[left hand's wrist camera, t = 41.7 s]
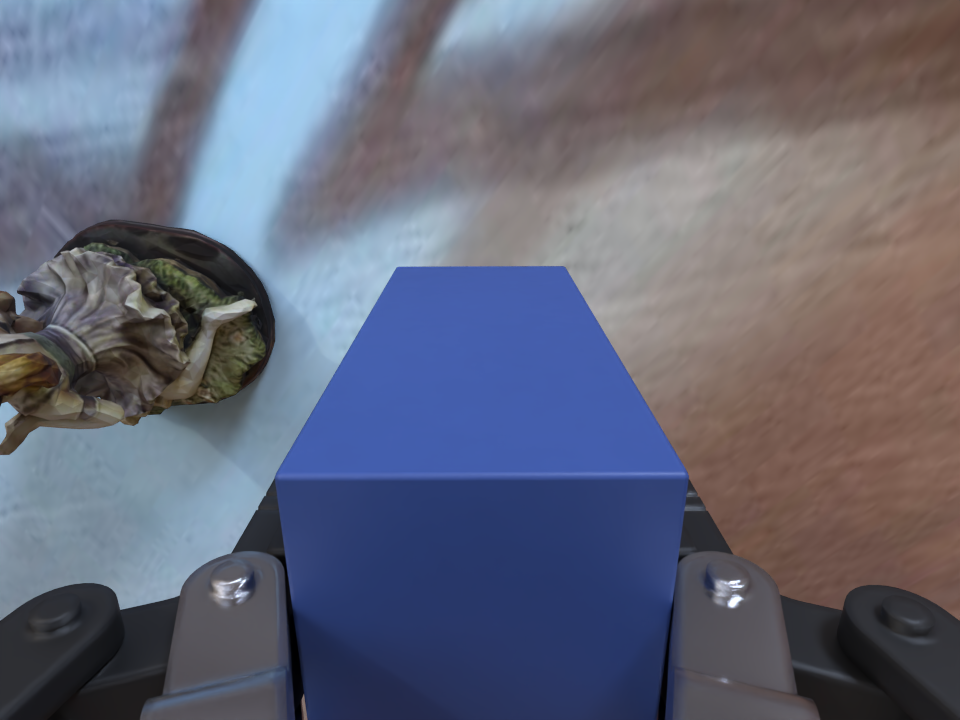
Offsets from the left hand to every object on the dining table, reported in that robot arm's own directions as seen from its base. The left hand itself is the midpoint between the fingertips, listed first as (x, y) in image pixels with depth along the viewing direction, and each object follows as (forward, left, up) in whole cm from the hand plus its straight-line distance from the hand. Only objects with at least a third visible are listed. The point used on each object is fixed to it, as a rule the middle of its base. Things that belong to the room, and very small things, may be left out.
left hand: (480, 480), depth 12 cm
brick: (0, 0, -6) cm, 6 cm away
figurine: (-16, +6, -22) cm, 28 cm away
